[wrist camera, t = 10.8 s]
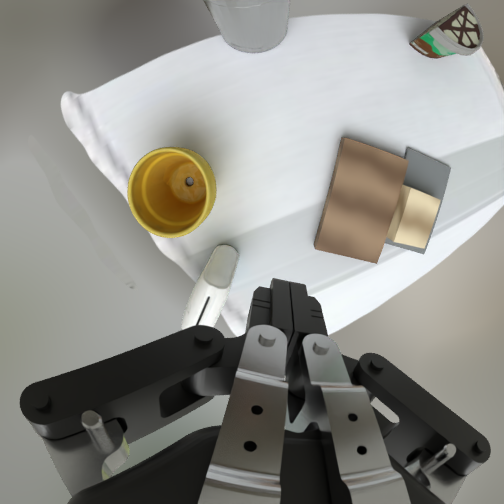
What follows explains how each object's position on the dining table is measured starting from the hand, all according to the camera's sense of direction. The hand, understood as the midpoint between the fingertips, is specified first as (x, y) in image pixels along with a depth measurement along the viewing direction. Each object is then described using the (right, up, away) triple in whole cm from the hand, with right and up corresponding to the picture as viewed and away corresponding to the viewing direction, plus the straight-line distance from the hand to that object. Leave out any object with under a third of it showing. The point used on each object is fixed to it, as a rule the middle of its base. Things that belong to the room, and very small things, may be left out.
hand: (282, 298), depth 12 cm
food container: (+28, +35, +13) cm, 46 cm away
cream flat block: (+22, +7, +23) cm, 33 cm away
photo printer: (-7, -1, +30) cm, 31 cm away
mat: (+24, +10, +23) cm, 35 cm away
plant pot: (-10, +12, +25) cm, 30 cm away
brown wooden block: (+14, +9, +24) cm, 30 cm away
